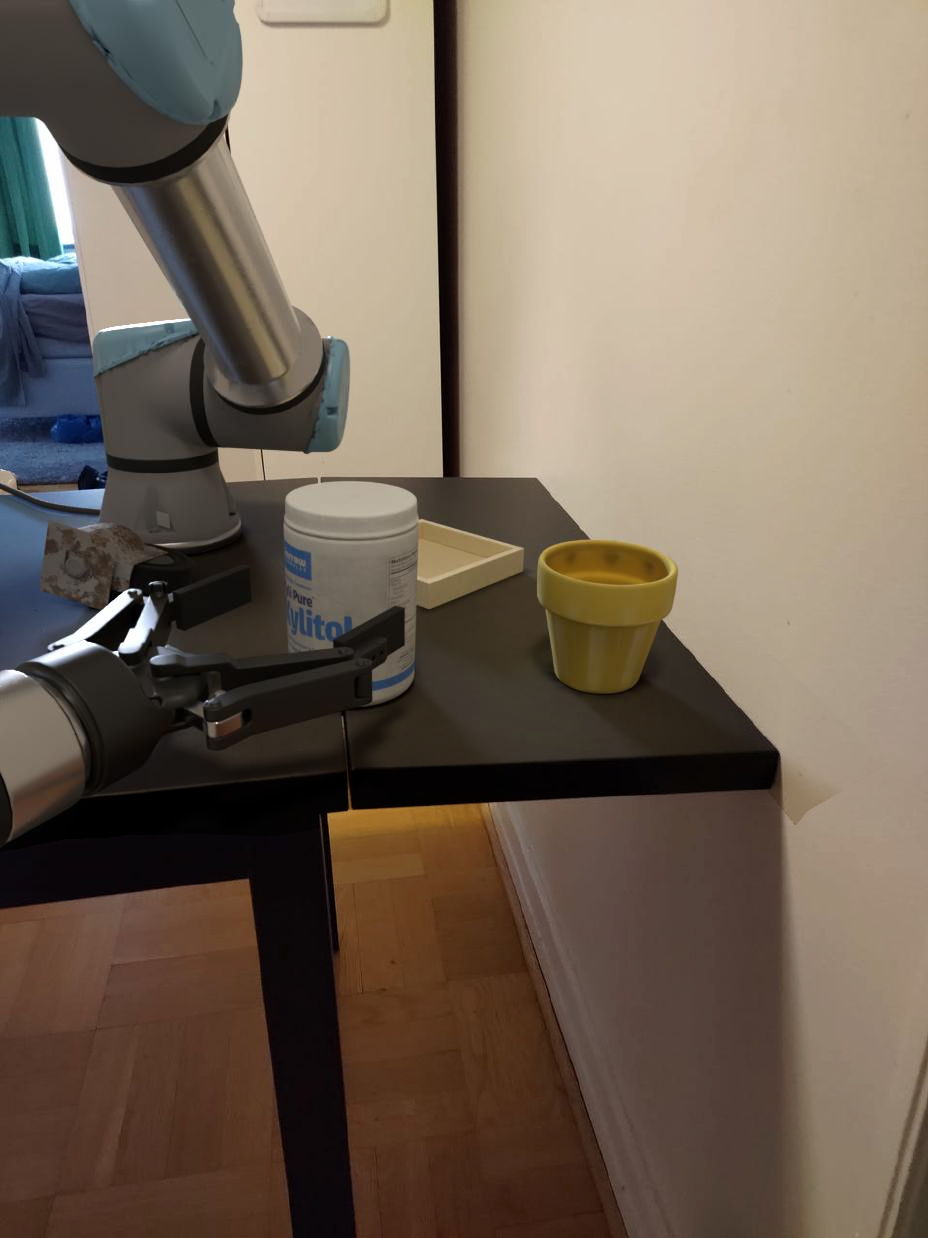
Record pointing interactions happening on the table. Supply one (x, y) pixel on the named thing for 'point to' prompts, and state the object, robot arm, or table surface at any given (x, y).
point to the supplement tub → (352, 569)
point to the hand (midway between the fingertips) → (320, 602)
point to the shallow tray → (460, 563)
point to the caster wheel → (107, 563)
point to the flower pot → (603, 609)
